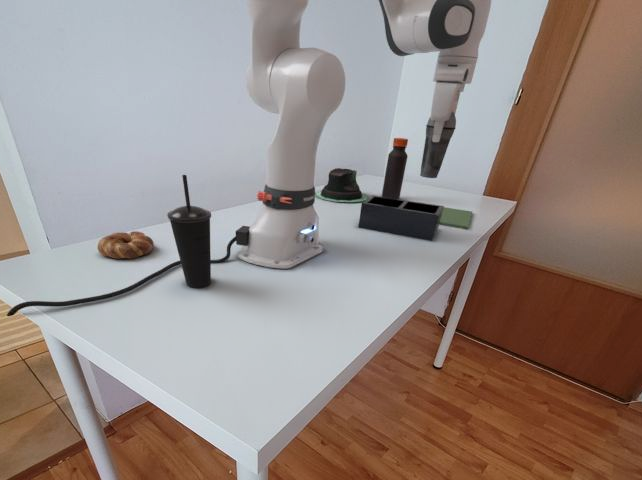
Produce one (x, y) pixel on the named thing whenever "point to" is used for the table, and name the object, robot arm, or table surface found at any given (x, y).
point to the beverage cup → (436, 147)
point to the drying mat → (455, 218)
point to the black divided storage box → (400, 217)
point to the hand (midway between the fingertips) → (437, 140)
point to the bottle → (395, 169)
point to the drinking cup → (192, 241)
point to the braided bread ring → (125, 245)
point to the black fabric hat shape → (342, 187)
